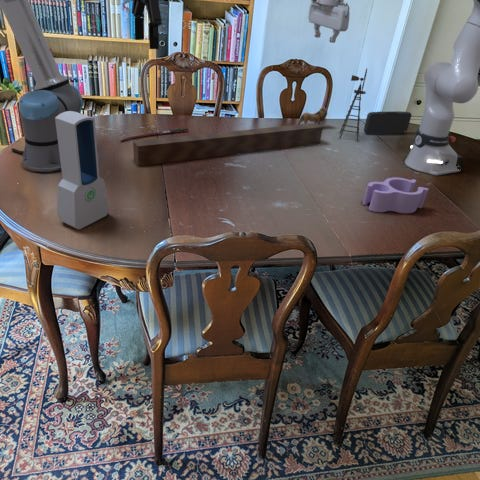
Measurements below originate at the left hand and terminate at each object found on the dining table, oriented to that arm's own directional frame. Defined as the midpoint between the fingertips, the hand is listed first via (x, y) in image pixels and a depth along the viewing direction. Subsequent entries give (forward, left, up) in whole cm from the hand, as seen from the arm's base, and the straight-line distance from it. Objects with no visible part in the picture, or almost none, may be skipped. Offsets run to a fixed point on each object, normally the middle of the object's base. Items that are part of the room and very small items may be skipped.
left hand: (146, 44), depth 147 cm
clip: (+86, -8, -40) cm, 95 cm away
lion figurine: (+59, +62, -40) cm, 95 cm away
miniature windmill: (+76, +55, -40) cm, 102 cm away
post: (+29, +21, -40) cm, 54 cm away
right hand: (+57, +41, +1) cm, 71 cm away
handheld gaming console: (+94, +67, -40) cm, 123 cm away
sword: (-5, +25, -40) cm, 48 cm away
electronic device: (-6, -44, -40) cm, 59 cm away
